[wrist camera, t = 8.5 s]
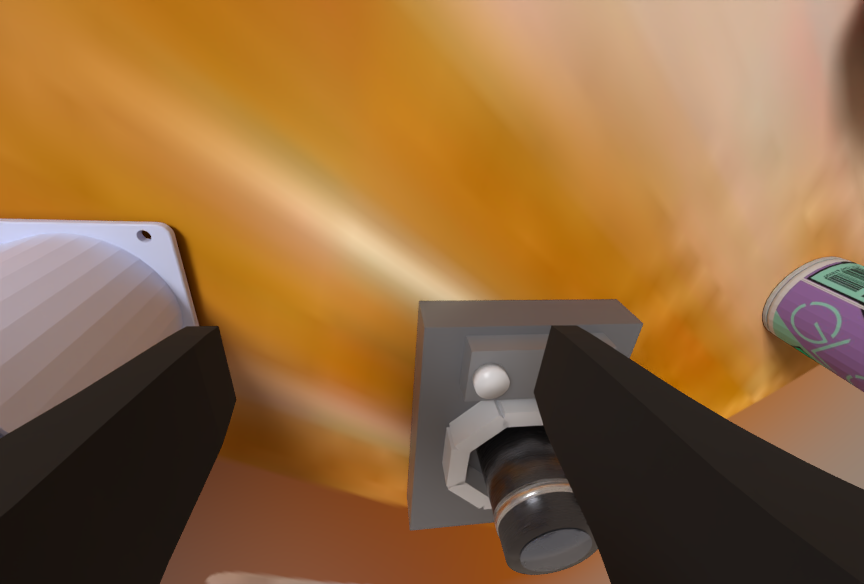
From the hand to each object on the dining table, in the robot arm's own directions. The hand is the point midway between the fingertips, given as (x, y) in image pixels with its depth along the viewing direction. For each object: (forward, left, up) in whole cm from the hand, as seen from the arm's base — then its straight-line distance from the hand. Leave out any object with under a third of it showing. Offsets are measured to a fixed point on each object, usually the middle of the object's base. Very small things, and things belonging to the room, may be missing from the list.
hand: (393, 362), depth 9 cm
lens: (+7, -12, -8) cm, 16 cm away
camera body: (+7, -12, -10) cm, 17 cm away
